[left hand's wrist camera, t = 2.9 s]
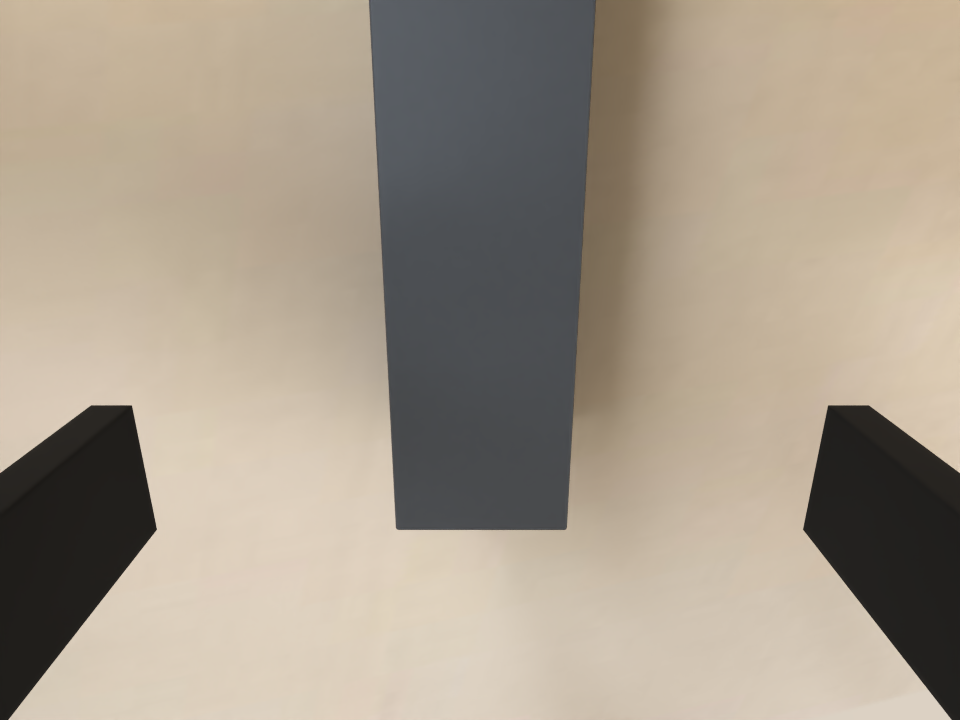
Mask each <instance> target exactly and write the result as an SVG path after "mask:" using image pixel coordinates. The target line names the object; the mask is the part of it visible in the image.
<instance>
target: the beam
mask: <svg viewBox="0 0 960 720" xmlns="http://www.w3.org/2000/svg"><path fill="white" fill-rule="evenodd" d="M595 6H596V0H369V10H370V30H371V49H372V69H373V88H374V108H375V127H376V147H377V166H378V186H379V205H380V225H381V244H382V264H383V283H384V303H385V322H386V342H387V361H388V381H389V400H390V420H391V439H392V459H393V478H394V498H395V517H396V528H397V529H398V530H565V529H566V528H567V514H568V496H569V478H570V460H571V441H572V423H573V405H574V387H575V369H576V351H577V333H578V315H579V296H580V278H581V260H582V242H583V224H584V206H585V188H586V170H587V151H588V133H589V115H590V97H591V79H592V61H593V43H594V25H595Z"/></svg>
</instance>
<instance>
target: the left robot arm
mask: <svg viewBox="0 0 960 720" xmlns="http://www.w3.org/2000/svg"><path fill="white" fill-rule="evenodd" d="M156 530H157V528H156V523H155V518H154V513H153V508H152V503H151V498H150V493H149V488H148V483H147V478H146V473H145V468H144V463H143V458H142V453H141V449H140V444H139V439H138V434H137V429H136V424H135V419H134V414H133V409H132V406H90V407H89V408H87V409H86V410H85V411H83V412H82V413H80V414H79V415H78V416H76V417H75V418H74V419H72V420H71V421H70V422H68V423H67V424H66V425H64V426H63V427H62V428H60V429H59V430H58V431H56V432H55V433H54V434H52V435H51V436H50V437H48V438H47V439H46V440H44V441H43V442H42V443H40V444H39V445H38V446H36V447H35V448H33V449H32V450H31V451H29V452H28V453H27V454H25V455H24V456H23V457H21V458H20V459H19V460H17V461H16V462H15V463H13V464H12V465H11V466H9V467H8V468H7V469H5V470H4V471H3V472H1V473H0V720H8V719H9V718H10V717H11V716H12V714H13V713H14V712H15V710H16V709H17V708H18V707H19V705H20V704H21V703H22V701H23V700H24V699H25V698H26V696H27V695H28V694H29V692H30V691H31V690H32V689H33V687H34V686H35V685H36V684H37V682H38V681H39V680H40V678H41V677H42V676H43V675H44V673H45V672H46V671H47V669H48V668H49V667H50V666H51V664H52V663H53V662H54V660H55V659H56V658H57V657H58V655H59V654H60V653H61V652H62V650H63V649H64V648H65V646H66V645H67V644H68V643H69V641H70V640H71V639H72V637H73V636H74V635H75V634H76V632H77V631H78V630H79V629H80V627H81V626H82V625H83V623H84V622H85V621H86V620H87V618H88V617H89V616H90V614H91V613H92V612H93V611H94V609H95V608H96V607H97V605H98V604H99V603H100V602H101V600H102V599H103V598H104V597H105V595H106V594H107V593H108V591H109V590H110V589H111V588H112V586H113V585H114V584H115V582H116V581H117V580H118V579H119V577H120V576H121V575H122V573H123V572H124V571H125V570H126V568H127V567H128V566H129V565H130V563H131V562H132V561H133V559H134V558H135V557H136V556H137V554H138V553H139V552H140V550H141V549H142V548H143V547H144V545H145V544H146V543H147V541H148V540H149V539H150V538H151V536H152V535H153V534H154V533H155V531H156ZM803 530H804V531H805V533H806V534H807V535H808V536H809V538H810V539H811V540H812V541H813V543H814V544H815V545H816V547H817V548H818V549H819V550H820V552H821V553H822V554H823V556H824V557H825V558H826V559H827V561H828V562H829V563H830V565H831V566H832V567H833V568H834V570H835V571H836V572H837V573H838V575H839V576H840V577H841V579H842V580H843V581H844V582H845V584H846V585H847V586H848V588H849V589H850V590H851V591H852V593H853V594H854V595H855V597H856V598H857V599H858V600H859V602H860V603H861V604H862V605H863V607H864V608H865V609H866V611H867V612H868V613H869V614H870V616H871V617H872V618H873V620H874V621H875V622H876V623H877V625H878V626H879V627H880V629H881V630H882V631H883V632H884V634H885V635H886V636H887V637H888V639H889V640H890V641H891V643H892V644H893V645H894V646H895V648H896V649H897V650H898V652H899V653H900V654H901V655H902V657H903V658H904V659H905V660H906V662H907V663H908V664H909V666H910V667H911V668H912V669H913V671H914V672H915V673H916V675H917V676H918V677H919V678H920V680H921V681H922V682H923V684H924V685H925V686H926V687H927V689H928V690H929V691H930V692H931V694H932V695H933V696H934V698H935V699H936V700H937V701H938V703H939V704H940V705H941V707H942V708H943V709H944V710H945V712H946V713H947V714H948V716H949V717H950V718H951V719H952V720H960V473H959V472H957V471H956V470H955V469H953V468H952V467H951V466H949V465H948V464H947V463H945V462H944V461H943V460H941V459H940V458H939V457H937V456H936V455H935V454H933V453H932V452H931V451H929V450H928V449H927V448H925V447H924V446H922V445H921V444H920V443H918V442H917V441H916V440H914V439H913V438H912V437H910V436H909V435H908V434H906V433H905V432H904V431H902V430H901V429H900V428H898V427H897V426H896V425H894V424H893V423H892V422H890V421H889V420H888V419H886V418H885V417H884V416H882V415H881V414H880V413H878V412H877V411H875V410H874V409H873V408H871V407H870V406H828V409H827V414H826V419H825V424H824V429H823V434H822V439H821V444H820V449H819V453H818V458H817V463H816V468H815V473H814V478H813V483H812V488H811V493H810V498H809V503H808V508H807V513H806V518H805V523H804V528H803Z"/></svg>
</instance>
